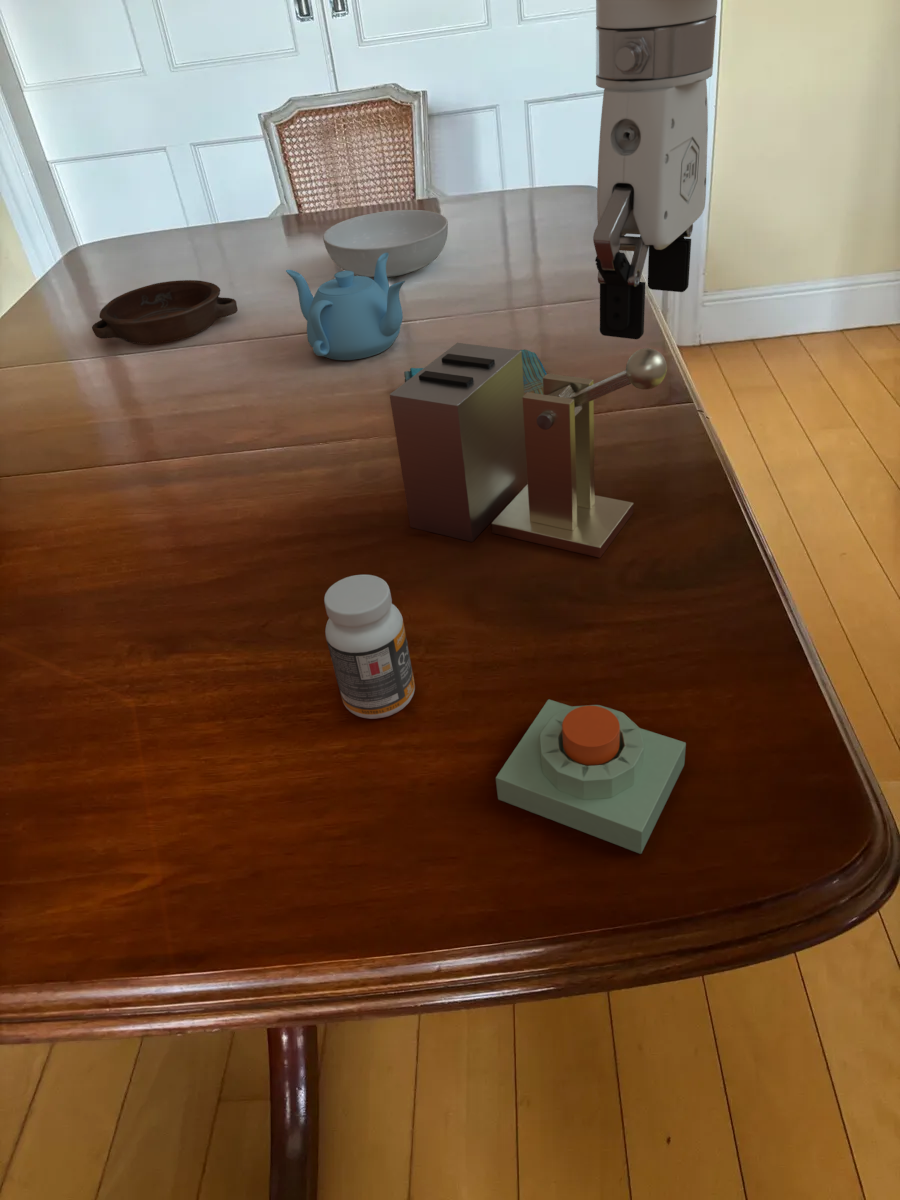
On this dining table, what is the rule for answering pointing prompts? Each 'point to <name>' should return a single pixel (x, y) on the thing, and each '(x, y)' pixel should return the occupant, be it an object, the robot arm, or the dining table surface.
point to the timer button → (591, 735)
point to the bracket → (561, 477)
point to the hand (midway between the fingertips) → (645, 311)
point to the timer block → (593, 779)
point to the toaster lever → (622, 378)
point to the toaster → (461, 439)
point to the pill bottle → (368, 647)
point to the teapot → (351, 313)
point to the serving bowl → (387, 241)
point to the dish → (163, 312)
